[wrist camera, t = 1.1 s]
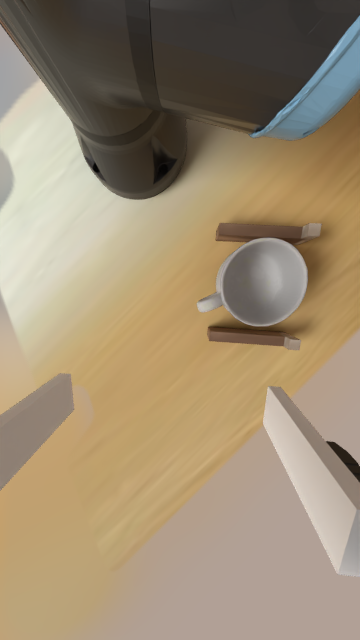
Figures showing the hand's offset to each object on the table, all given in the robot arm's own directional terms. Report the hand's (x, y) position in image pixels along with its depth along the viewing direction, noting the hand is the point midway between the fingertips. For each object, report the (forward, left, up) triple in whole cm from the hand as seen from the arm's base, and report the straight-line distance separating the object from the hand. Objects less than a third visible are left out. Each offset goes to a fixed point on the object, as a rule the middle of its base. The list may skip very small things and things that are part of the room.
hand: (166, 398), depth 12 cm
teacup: (-8, +9, -21) cm, 24 cm away
